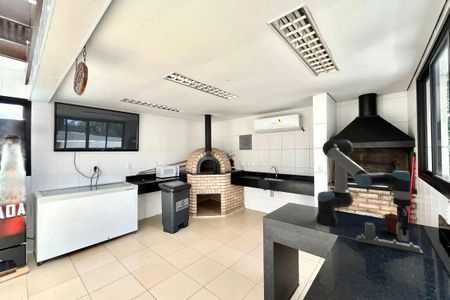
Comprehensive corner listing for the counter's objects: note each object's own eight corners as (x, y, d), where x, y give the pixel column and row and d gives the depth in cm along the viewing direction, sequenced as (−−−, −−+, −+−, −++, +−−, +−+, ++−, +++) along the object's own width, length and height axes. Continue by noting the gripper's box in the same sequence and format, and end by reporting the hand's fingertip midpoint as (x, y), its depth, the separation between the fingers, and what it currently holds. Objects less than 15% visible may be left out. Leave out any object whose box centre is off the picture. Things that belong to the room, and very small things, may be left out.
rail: (356, 241, 119) (355, 223, 119) (355, 238, 124) (355, 220, 124) (423, 254, 104) (422, 232, 104) (420, 249, 108) (419, 229, 108)
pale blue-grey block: (406, 238, 110) (406, 223, 110) (408, 241, 107) (408, 225, 107) (396, 237, 113) (395, 221, 113) (398, 239, 109) (397, 224, 109)
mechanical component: (396, 229, 135) (406, 236, 125) (380, 228, 137) (389, 235, 127) (395, 212, 134) (406, 217, 125) (379, 211, 136) (388, 216, 127)
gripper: (390, 194, 119) (391, 231, 119) (396, 200, 105) (398, 243, 104) (406, 195, 115) (407, 234, 115) (415, 202, 101) (417, 247, 101)
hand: (403, 238), depth 110 cm, fingers closed on pale blue-grey block, 4 cm apart
